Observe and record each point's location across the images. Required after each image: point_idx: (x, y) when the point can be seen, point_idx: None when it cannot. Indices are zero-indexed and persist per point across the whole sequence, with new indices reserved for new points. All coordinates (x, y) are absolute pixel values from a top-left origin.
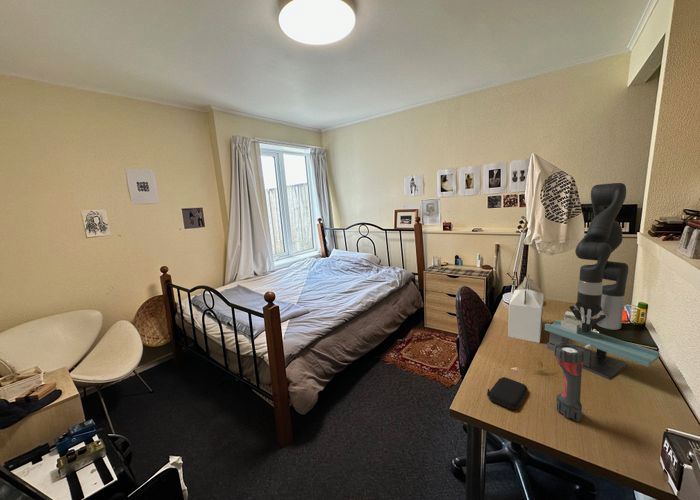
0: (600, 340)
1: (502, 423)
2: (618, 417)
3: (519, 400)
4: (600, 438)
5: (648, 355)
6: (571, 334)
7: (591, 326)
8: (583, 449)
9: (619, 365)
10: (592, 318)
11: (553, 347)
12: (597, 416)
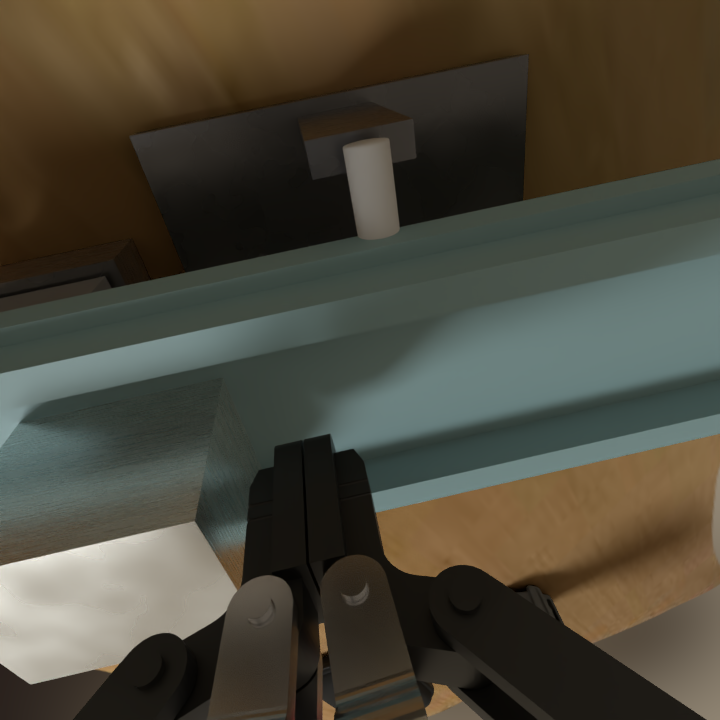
0: (445, 351)
1: (442, 703)
2: (617, 511)
3: (422, 686)
4: (604, 592)
5: None
6: None
7: (375, 520)
8: (589, 631)
9: (500, 158)
10: (405, 689)
11: None
12: (571, 552)
